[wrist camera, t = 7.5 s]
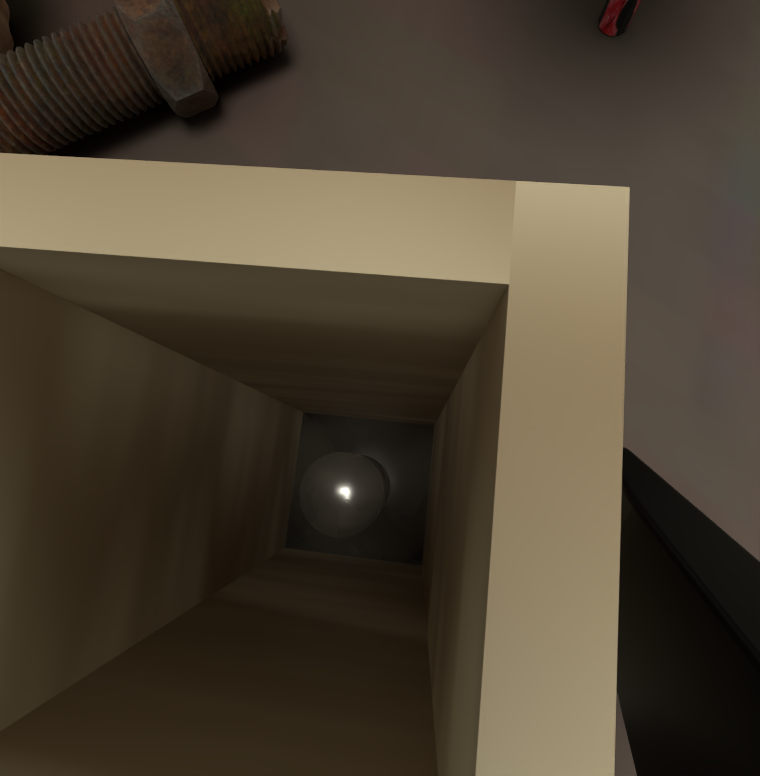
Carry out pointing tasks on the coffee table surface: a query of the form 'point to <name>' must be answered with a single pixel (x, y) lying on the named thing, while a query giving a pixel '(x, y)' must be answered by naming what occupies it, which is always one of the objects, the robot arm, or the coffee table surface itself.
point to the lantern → (617, 16)
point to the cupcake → (5, 29)
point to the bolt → (129, 67)
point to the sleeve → (278, 463)
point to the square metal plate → (361, 488)
